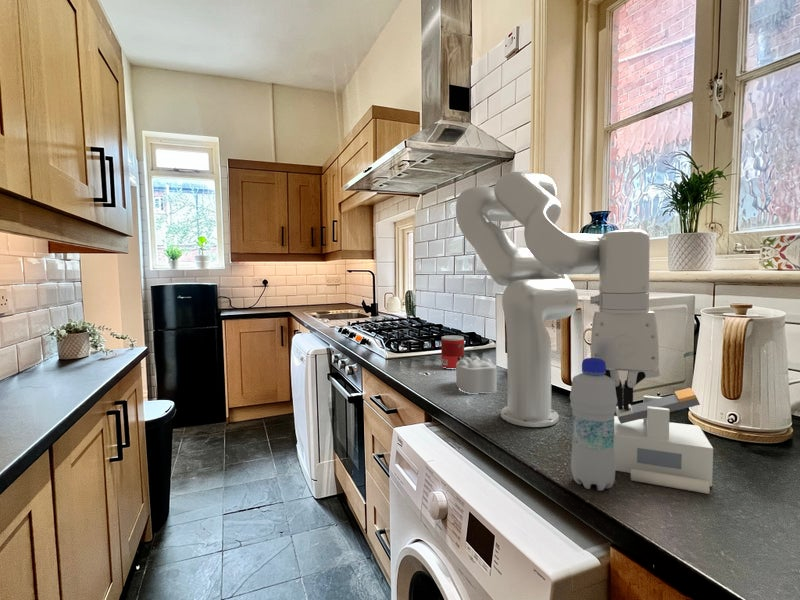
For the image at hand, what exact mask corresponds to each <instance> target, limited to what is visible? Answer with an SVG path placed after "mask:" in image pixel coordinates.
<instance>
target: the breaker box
mask: <svg viewBox="0 0 800 600" xmlns="http://www.w3.org/2000/svg"><path fill="white" fill-rule="evenodd" d="M662 397H663V396H652V395H643V397H642V398H643V402H647V401H651V400H655V399H659V398H662ZM643 402H642V403H643ZM670 413H671V412H670V410H669V408H660V407H650V406H647V418H643V419H638V420H634V421H630V422H626V423H622V424H621V423H620V421H619V419H618V417H617V415H614V457H615V472H616V471H617V472H623V473H630V474H631V468H632V469H638V470H644V471H650V472H656V473H662V474H669V475H675V476H681V477H687V478H693V479H699V480H706V481H708V482H709V487H713V466H714V448H713V446H712V444H711V443H710V441H709V440H708V439H709V438H707V436H706V435H705V432H704V431H703V430H702V429H701V427H700V425H697V424H686V423H680V422H679V423H677V422H670Z"/></svg>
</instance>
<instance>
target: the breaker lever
mask: <svg viewBox="0 0 800 600" xmlns="http://www.w3.org/2000/svg"><path fill="white" fill-rule="evenodd" d="M661 397H662V398H659V399H655V400H651V401H647V402H639V403H635V404H633V405H631V404H629V410H625V409H624V407H623V409H622V410H619V409H618V405H616V408H617V410H616V412H615V414H616V416H617V417H618V419H619V421H620V423H621V424H622V423H626V422H630V421H634V420H638V419H643V418H647V406H650V407H660V408H669V410H670V413H671V412H676V411H680V410H684V409H689V408H692V407H696V406H700V405H701V403H700V402H699V400H698V398H697V395H696V393H694V391H693V390H692V388H691V387H687V388H684V389H683V388H682V389H679V390H675V391H674V394H671V395H668V396H661Z"/></svg>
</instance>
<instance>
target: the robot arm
mask: <svg viewBox="0 0 800 600" xmlns="http://www.w3.org/2000/svg"><path fill="white" fill-rule="evenodd" d="M556 197H557V186H556V184H555V182H554V180H553V179H552V178H551V177H550V176H548V175H546V174H542V173H533V172H528V171H527V172H525V171H510V172H508V173H507V172H506V173H504V174H503V175H501V176H500V177H498V179H497V181H496V182H495V184H494V187H493V186H473V187H469V188H466V189H465V190H463V191H462V192H461V193H459V194H458V197H457V199H456V204H455V217H456V221H457V225H458V227H459V230H460V232H461V234H462V235H463V236H464V238H465V239H466V240H467V242H468V243H469V244H470V245H471V246H472V248H473V249H474V250H475V252H476V253H477V255H478V257H479V258H480V261H481V263H482V264H483V265H484V268H485V269H486V270H487V272H488V274H489V276H490V277H491V278H492V280H493V281H494V282H495V283H496V284H497V285H499V286H503V287H505V289H503V290H504V291H503V293H502V297H501V304H502V305H501V306H502V310H503V316H504V320H505V326H506V327H505V330H506V351H507V352H506V356H507V357H506V359H507V361H506V365H507V367H506V369H507V373H506V374H507V378H506V379H507V386H506V387H507V406H504V407H503V408H502V409H501V410H500V417H501V419H503V421H505V420H506V422H507V423H509V424H513V425H516V426H520V427H527V428H545V427H551V426H554V425H555V424H557V423H558V422H559V419H560V418H559V417H560V416H559V414H558V412H557V411H555V410H554V409H552V342H551V341H552V340H551V337H550V334H549V332H548V329H547V328H546V325H545V324H544V321H551V320H552V321H553V320H554V321H555V320H562V319H565V318H568V317H570V316H572V315H573V314H575V312H576V310H577V308H578V305H579V297H578V296H579V295H578V292H577V289H576V287H575V285H574V283H573V282H572V280H571V279H570V278H569V275H570V276H571V275H573V276H574V275H598V274H599V275H598V276H599V277H598V281H599V283H598V284H599V285H598V286H599V288H598V291H599V294H597V295H595V296H591V295H590V300H589V302H590V304H591V305H595V306H597V307H599V309H596V310H594V314H593V316H592V325H591V333H590V335H591V336H590V358H598V359H602V360H603V361H604V362H605V364H606V374H604V375H606V376H608V377H610V378H611V379H613V380H614V382H615V389H616V396H617V406H618V409H619V410H622V409H623V407H624V409H625V410H629V404H630V405H634V388H635V387H636V385H638V384H639V383H640V382H642V381H643V380H644V379H650V378H657V377H659V376H660V369H659V362H660V361H659V360H660V354H659V353H660V351H659V350H660V349H659V333H658V332H659V331H658V323H657V318H656V313H655V311H653V310H650V242H651V241H650V235H649V234H648V233H647V232H646V231H645V230H642V229H622V230H621V229H620V230H613V231H608V232H605V233H602V234H600V233H599V234H598V233H597V234H596V233H575V232H574V233H570V232H569V233H567V232H564V231H563V230H561V229H560V228H558V227H557V225H555V224H557V221H558V220H559V218H560V215H561V211H562V206H561V203H560V201H559V200H558V199H557V198H556ZM514 221H517V222H519V224H520V225H521V226H522V227H524V231H523V234H524V242H525V245H526V246H519V245H516V244H515V243H514V242H513V241H512V240H511V239H510V238H509V236H508V234H507V233H506V231H505V230H504V229H502V227H500V226H499V225H497V224H495V222H514ZM619 371H625V372H627V375H626V379H625V380H624V383H622V380H621V379H620V378H619Z"/></svg>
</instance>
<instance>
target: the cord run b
mask: <svg viewBox="0 0 800 600" xmlns="http://www.w3.org/2000/svg"><path fill="white" fill-rule="evenodd" d="M630 481H631V482H638V483H644V484H650V485H655V486H662V487H667V488H673V489H677V490H678V489H679V490H684V491H690V492H694V493H695V492H696V493H700V494H710V492H711V491H710V487H711V486H709V482H708V481H706V480H699V479H693V478H687V477H681V476H675V475H669V474H662V473H656V472H650V471H644V470H638V469H632V468H631V473H630Z"/></svg>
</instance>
